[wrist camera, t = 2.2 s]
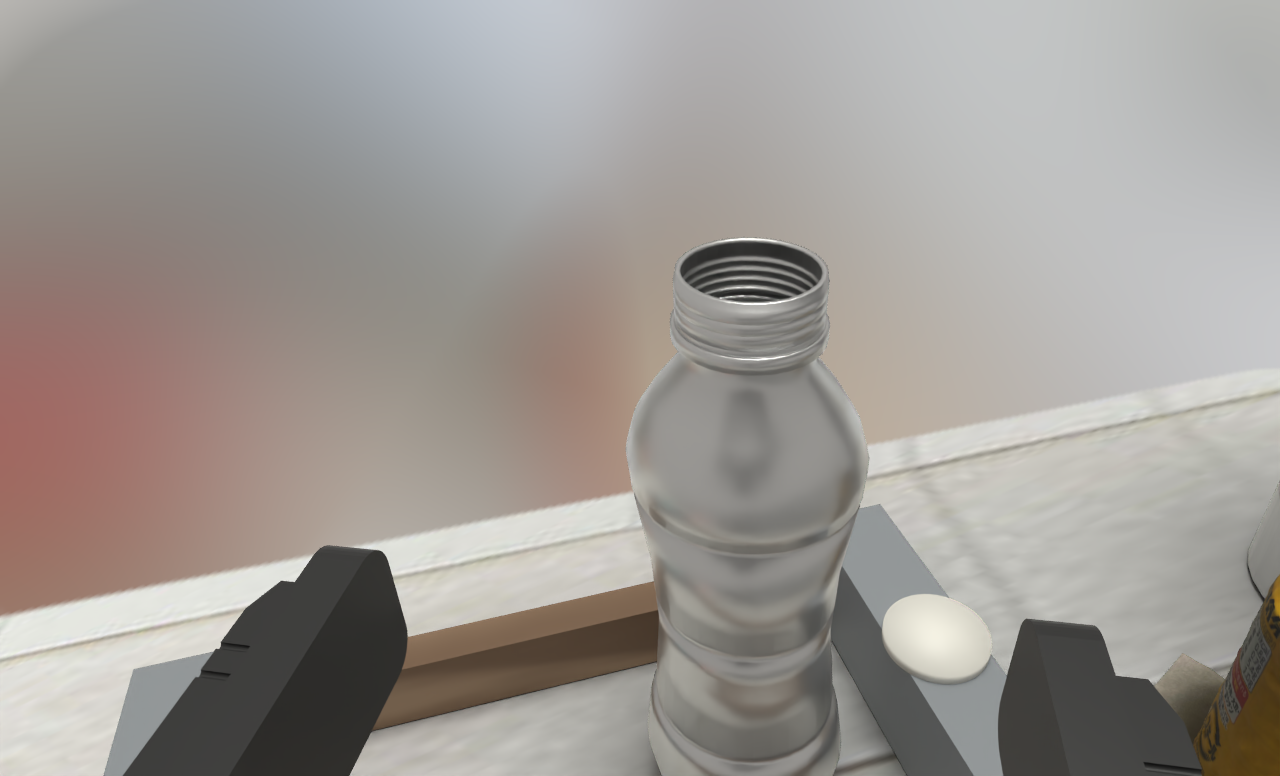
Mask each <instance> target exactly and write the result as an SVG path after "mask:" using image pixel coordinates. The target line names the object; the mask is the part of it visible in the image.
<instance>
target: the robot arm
mask: <svg viewBox="0 0 1280 776" xmlns="http://www.w3.org/2000/svg"><path fill="white" fill-rule="evenodd" d="M1248 566H1249V570H1250V573H1251V576H1252V579H1253V581H1254V583H1255V584H1256V586H1257V588H1258V589H1259V591H1260V592H1261V594H1262V596H1263V597H1264V598H1266V596H1267V594H1268V591H1269V588H1270V587H1271V585H1272V584H1273V582H1274V581H1275V579H1276V578H1277V577H1278V576H1279V575H1280V481H1279V484H1278V486H1277V488H1276V490H1275V492H1274V495H1273V497H1272V499H1271V501H1270V503H1269V506H1268V508H1267V510H1266V512H1265V514H1264V517H1263V519H1262V521H1261V523H1260V525H1259V528H1258V530H1257V532H1256V534H1255V537H1254V539H1253V541H1252V543H1251V545H1250V548H1249V550H1248ZM407 641H408V635H407V627H406V623H405V620H404V616H403V613H402V609H401V605H400V602H399V598H398V595H397V591H396V588H395V584H394V581H393V577H392V574H391V570H390V566H389V563H388V560H387V557H386V556H385V554H384V553H383V552H381V551H379V550H369V549H360V548H350V547H340V546H330V545H329V546H324V547H322V548H320V549H319V550H318V551H317V552H316V553H315V554H314V556H313V557H312V558H311V560H310V561H309V563H308V564H307V566H306V567H305V568H304V570H303V571H302V573H301V574H300V576H299V577H298V578H297V580H296V581H295V582H288V581H280V582H279V583H278V584H277V585H275V586H274V587H273V588H271V589H270V590H269V591H268V592H266V593H265V594H264V595H262V596H261V597H260V598H259V599H257V600H256V601H255V602H253V603H252V604H251V605H250V606H248V607H247V608H246V609H245V610H244V611H243V613H242V614H241V616H240V617H239V618H238V620H237V621H236V622H235V624H234V625H233V626H232V628H231V629H230V630H229V632H228V633H227V635H226V636H225V637H224V639H223V640H222V641H221V647H220V649H215V651H214V652H213V654H212V655H211V656H210V658H209V659H208V660H207V662H206V663H205V664H204V666H203V667H202V668H201V674H200V676H199V677H195V678H194V679H193V681H192V682H191V683H190V685H189V686H188V688H187V689H186V690H185V692H184V693H183V694H182V696H181V697H180V698H179V700H178V701H177V702H176V704H175V705H174V707H173V708H172V709H171V711H170V712H169V713H168V715H167V716H166V717H165V719H164V720H163V721H162V723H161V724H160V726H159V727H158V728H157V730H156V731H155V732H154V734H153V735H152V736H151V738H150V739H149V740H148V742H147V743H146V745H145V746H144V747H143V749H142V750H141V751H140V753H139V754H138V755H137V757H136V758H135V759H134V761H133V762H132V764H131V765H130V766H129V768H128V769H127V770H126V772H125V773H124V774H123V776H349V775H350V773H351V771H352V769H353V767H354V765H355V763H356V761H357V759H358V757H359V755H360V753H361V751H362V749H363V747H364V745H365V743H366V741H367V739H368V737H369V735H370V733H371V731H372V729H373V727H374V725H375V723H376V721H377V719H378V717H379V715H380V713H381V711H382V709H383V707H384V705H385V703H386V701H387V699H388V697H389V695H390V693H391V691H392V689H393V687H394V685H395V684H396V682H397V680H398V678H399V675H400V673H401V671H402V668H403V665H404V661H405V657H406V651H407ZM998 744H999V753H1000V760H1001V766H1002V771H1003V776H1202V774H1201V771H1202V768H1201V765H1200V763H1199V760H1198V757H1197V755H1196V752H1195V750H1194V747H1193V744H1192V742H1191V739H1190V736H1189V734H1188V731H1187V728H1186V726H1185V723H1184V721H1183V720H1182V719H1181V718H1180V717H1179V715H1178V714H1177V713H1176V712H1175V711H1174V710H1173V708H1172V707H1171V706H1170V705H1169V704H1168V702H1167V701H1166V700H1165V699H1164V698H1163V696H1162V695H1161V694H1160V693H1159V692H1158V690H1157V689H1156V688H1155V687H1154V686H1153V685H1152V683H1151V682H1150V681H1149V680H1148V679H1139V678H1130V677H1121V676H1115V672H1114V669H1113V666H1112V663H1111V660H1110V657H1109V654H1108V651H1107V648H1106V644H1105V641H1104V639H1103V636H1102V634H1101V632H1100V630H1099V629H1098V628H1097V627H1096V626H1093V625H1084V624H1074V623H1064V622H1054V621H1044V620H1035V619H1025V620H1024V621H1023V623H1022V625H1021V628H1020V631H1019V634H1018V638H1017V642H1016V645H1015V649H1014V652H1013V656H1012V660H1011V663H1010V667H1009V671H1008V674H1007V678H1006V681H1005V685H1004V689H1003V692H1002V696H1001V700H1000V705H999V714H998Z"/></svg>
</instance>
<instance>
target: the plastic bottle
mask: <svg viewBox="0 0 1280 776" xmlns="http://www.w3.org/2000/svg"><path fill="white" fill-rule="evenodd" d="M828 274H829V272H828V267H827V265H826V263H825V262H824V260H823V259H822V258H821V257H819V256H818V255H817V254H816V253H814V252H812V251H810V250H809V249H807V248H804V247H802V246H799V245H797V244H793V243H789V242H786V241H781V240H775V239H768V238H757V237H753V238H752V237H741V238H729V239H722V240H716V241H712V242H709V243H705V244H702V245H700V246H697V247H695V248H692V249H691V250H689V251H687V252H686V253H684V254H683V255H682V256H681V257H680V258H679V259H678V261H677V263H676V265H675V271H674V276H673V294H674V309H673V311H672V313H671V318H670V337H671V340H672V344H673V345H674V346H675V348H676V349H677V351H678V353H676V355H675V356H674V357H673V358H672V359H671V360H670V361H669V362H668V363H667V364H666V365H665V366H664V368H663V369H662V370H661V371H660V372H659V373H658V374H657V376H656V377H655V378H654V380H653V381H652V383H651V384H650V386H649V387H648V388H647V390H646V391H645V393H644V394H643V395H642V397H641V398H640V400H639V402H638V404H637V406H636V408H635V411H634V414H633V418H632V422H631V426H630V429H629V433H628V438H627V444H626V454H627V460H628V466H629V471H630V478H631V484H632V489H633V491H634V495H635V500H636V504H637V507H638V511H639V515H640V519H641V522H642V526H643V530H644V534H645V538H646V541H647V545H648V549H649V553H650V556H651V562H652V569H653V577H654V584H655V590H656V598H657V605H658V612H659V630H658V652H657V669H656V672H655V675H654V679H653V683H652V687H651V696H650V705H649V715H648V734H649V741H650V745H651V748H652V750H653V753H654V756H655V759H656V761H657V764H658V767H659V770H660V772H661V775H662V776H833V773H834V771H835V768H836V765H837V763H838V760H839V755H840V747H841V736H840V725H839V715H838V706H837V699H836V695H835V691H834V687H833V684H832V655H831V624H832V618H833V611H834V606H835V600H836V594H837V588H838V581H839V575H840V570H841V567H842V564H843V560H844V557H845V554H846V550H847V547H848V544H849V541H850V537H851V534H852V531H853V527H854V524H855V521H856V517H857V514H858V511H859V507H860V503H861V500H862V498H863V493H864V488H865V482H866V478H867V473H868V465H869V454H868V449H867V444H866V440H865V436H864V432H863V428H862V425H861V420H860V416H859V415H858V413H857V411H856V409H855V407H854V405H853V404H852V402H851V400H850V399H849V397H848V396H847V394H846V393H845V391H844V389H843V388H842V386H841V385H840V383H839V381H838V380H837V378H836V377H835V376H834V375H833V373H832V372H831V371H830V370H829V369H828V367H827V366H826V365H825V364H824V363H823V361H822V360H821V359H820V358H819V356H820V355H821V354H822V353H823V351H824V350H825V349H826V347H827V343H828V339H829V328H830V322H829V317H828V315H827V303H828V293H829V282H830V280H829V275H828Z"/></svg>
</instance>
